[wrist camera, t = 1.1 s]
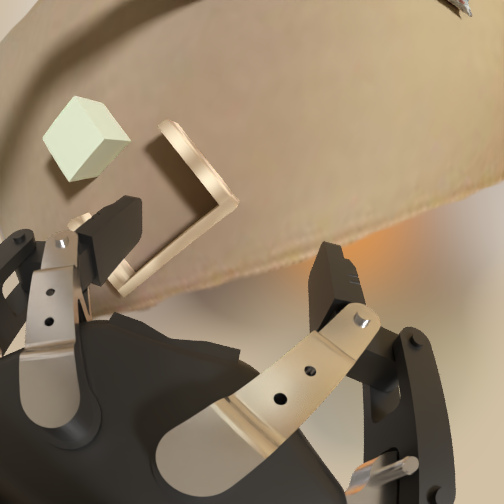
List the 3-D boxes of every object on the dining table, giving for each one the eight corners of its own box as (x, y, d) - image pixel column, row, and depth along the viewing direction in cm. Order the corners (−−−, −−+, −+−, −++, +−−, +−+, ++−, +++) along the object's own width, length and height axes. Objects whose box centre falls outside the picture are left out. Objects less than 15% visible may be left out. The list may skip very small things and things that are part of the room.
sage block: (72, 138, 34) (42, 138, 27) (103, 103, 33) (74, 95, 25) (98, 176, 37) (68, 182, 29) (131, 141, 35) (104, 138, 27)
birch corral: (84, 218, 39) (67, 225, 34) (177, 123, 34) (166, 118, 29) (136, 284, 42) (124, 298, 38) (239, 201, 38) (236, 207, 33)
